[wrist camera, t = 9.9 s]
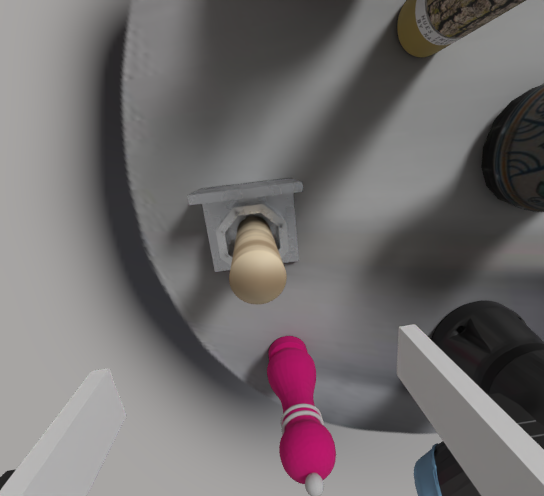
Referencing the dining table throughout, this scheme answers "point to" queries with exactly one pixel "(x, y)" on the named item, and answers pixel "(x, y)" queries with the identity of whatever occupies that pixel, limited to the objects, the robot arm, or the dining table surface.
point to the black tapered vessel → (517, 152)
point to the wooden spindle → (256, 263)
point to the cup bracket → (249, 202)
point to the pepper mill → (300, 415)
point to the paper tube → (444, 22)
